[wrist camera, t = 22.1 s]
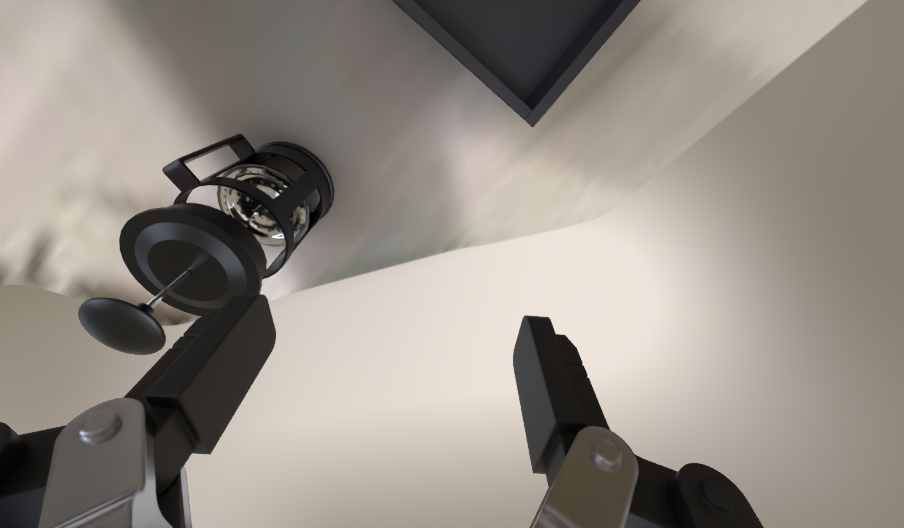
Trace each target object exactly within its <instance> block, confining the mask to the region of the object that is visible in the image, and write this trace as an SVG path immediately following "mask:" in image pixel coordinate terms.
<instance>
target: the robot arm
mask: <svg viewBox="0 0 904 528" xmlns="http://www.w3.org/2000/svg"><path fill="white" fill-rule="evenodd" d="M275 340H276V331H275V326H274V323H273V319H272V315H271V311H270V308H269V304H268V300H267V298H266V296H265V295H261V294H248V293H235V294H234V295H233V296H232V297H231V298H230V299H229V300H228V301H227V302H226V303H225V304H224V306H223V307H222V308H221V309H218V308H215V309H213V310H212V311H210V312H209V313H207V314H205V315H204V316H202V317H200V318H199V319H197V320H196V321H195V322H194V323H193V325H191V326H190V328H189V329H188V330H187V331H186V332H185V333H184V336H183V337H180V338H179V339H178V341H176V342H175V344H174V345H173V347H172V349H169V350H168V351H167V352H166V353H165V354H164V355H163V356H162V357H161V358H160V359H159V361H158V362H157V363H156V364H155V365H154V366H153V367H152V368H151V369H150V370H149V371H148V372H147V373H146V374H145V375H144V377H142V379H141V380H140V381H139V382H138V383H137V384H136V385H135V386H134V387H133V388H132V389H131V390H130V391H129V392H128V393H127V394H126V396H124V397H123V398H117V399H114V400H109V401H106V402H103V403H101V404H98V405H96V406H94V407H92V408H90V409H88V410H86V411H85V412H83V413H81V414H80V415H79V416H77V417H76V418H74V419H73V420H72V421H71V422H70V423H68V425H66V426H62V427H56V428H51V429H46V430H42V431H37V432H32V433H27V434H22V435H18V434H17V433H16V432H15V431H13V430H12V429H11V428H10V427H9V426H8V425H6V424H5V423H2V422H0V528H192V524H191V514H190V504H189V495H188V485H187V476H186V470H185V468H184V465H185V462H186V461H187V460H188V458H189V456H190V455H191V454H192V453H198V454H211V452H212V451H213V449H214V447H215V446H216V444H217V442H218V441H219V439H220V437H221V435H222V434H223V432H224V430H225V429H226V427H227V425H228V424H229V422H230V420H231V419H232V417H233V415H234V414H235V412H236V410H237V409H238V407H239V405H240V404H241V402H242V400H243V399H244V397H245V395H246V394H247V392H248V390H249V388H250V387H251V385H252V384H253V382H254V380H255V378H256V377H257V375H258V373H259V371H260V370H261V369H262V367H263V365H264V364H265V362H266V360H267V358H268V357H269V355H270V353H271V352H272V350H273V348H274V345H275ZM513 367H514V373H515V378H516V383H517V389H518V394H519V400H520V405H521V410H522V416H523V421H524V427H525V432H526V438H527V443H528V448H529V454H530V459H531V465H532V470H533V473H540V474H546V477H547V481H548V486H549V488H548V490H547V492H546V494H545V496H544V498H543V500H542V502H541V504H540V507H539V509H538V511H537V513H536V515H535V517H534V519H533V521H532V524H531V526H530V528H764V527H763V526H762V524H761V522H760V521H759V519H758V517H757V516H756V514H755V512H754V511H753V509H752V507H751V506H750V504H749V503H748V501H747V499H746V498H745V496H744V495H743V493H742V492H741V491H740V490H739V489H738V488H737V486H736V485H735V484H734V483H733V482H731V481H730V480H729V479H728V478H727V477H726V476H724V475H723V474H721V473H720V472H718V471H717V470H715V469H713V468H711V467H709V466H706V465H703V464H699V463H690V464H686V465H684V466H683V467H682V468H681V469H680V470H679V471H678V472H677V471H674V470H672V469H669V468H666V467H664V466H661V465H658V464H656V463H653V462H650V461H648V460H645V459H643V458H641V457H639V456H637V455H635V454H634V453H633V452H632V450H631V448H630V447H629V446H628V445H627V443H626V442H625V441H624V440H623V439H622V438H620V437H619V436H618V435H616V434H615V433H614V432H612V431H611V430H610V428H609V426H608V424H607V422H606V419H605V417H604V414H603V412H602V409H601V407H600V405H599V402H598V400H597V397H596V395H595V392H594V390H593V387H592V385H591V382H590V380H589V378H587V373H586V370H585V368H584V366H583V365H582V360H581V358H580V355H579V353H578V350H577V348H576V347H575V346H574V345H573V344H572V342H571V341H570V340H569V339H568V338H567V337H566V336H565V335H557V334H555V331H554V328H553V325H552V322H551V320H550V318H549V317H538V316H524V317H523V320H522V323H521V326H520V330H519V334H518V338H517V341H516V344H515V348H514V354H513Z"/></svg>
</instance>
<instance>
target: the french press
mask: <svg viewBox="0 0 904 528" xmlns="http://www.w3.org/2000/svg"><path fill="white" fill-rule="evenodd" d="M227 145H229V146H230V147H231V148H232V149H233V151H234V152H235V153H236V154H237V156H238V157H239V158H240V159H241V160H239V161H237V162H235V163H233V164H231V165H229V166H228V167H226V168H224V169H222V170H220V171H218V172H216V173H214V174H212V175H211V176H209V177H207V178H205V179H203V180H201V181H199V179H198V178H197V177H196V176H195V175H194V174H193V173H192V172H191V170H190V169H189V168H188V167H187V166H186V165H185V163H188V162H190V161H192V160H195V159H197V158H199V157H201V156H204V155H206V154H208V153H211V152H213V151H215V150H218V149H220V148H222V147H225V146H227ZM272 156H282V157H284V158H286V159H289V160H291V161H292V162H294V163H296V164H297V165H299V166H300V167H301V168H302V169H303V170H304V171H306V173H304V174H303V175H302V176H301V177H300V178H298V179H297V180H296V181H295V182H294V181H293V180H292V179H290V178H289V177H288V176H286V175H285V174H283V173H281V172H279V171H277V170H275V169H273V168H270V167H267V166H263V165H261V164H262V163H263V162H264V161H265V160H266V159H268V158H270V157H272ZM235 166H236V167H235ZM233 167H234V168H233ZM229 169H230V170H229ZM228 170H229V171H228ZM226 171H227V172H226ZM163 172H164V174H165V175H166V176H167V177H168V178H169V179H170V180H171V181H172V182H173V183H174V184H175V185H176V186H177V188H178V189H179V190H180V191H181V193H180V194H179V195H178V197H177V198H176V199H175V201H174V204H173V205H171V206H169V207H166V208H155V209H149V210H146V211H144V212H141V213H139V214H137V215H135V216H134V217H132V218H131V219H130V220H129V221H127V222H126V224H125V225H124V227H123V229H122V230H121V234H120V239H119V243H120V251H121V254H122V258H123V261H124V262H125V264H126V266H127V268H128V269H129V271H130V273H131V274H132V275H133V276H134V277H135V279H136V280H137V281H138V282H139V283H140V284H141V285H142V286H143V287H144V288H145V289H146V290H147V291H149V292H150V293H151V294H153V295H154V296H155V297H154V298H153V299H152V300H150V301H149V302H148V303H147V304H144V303H140V304H138V305H136V306H135V305H133V304H130V303H128V302H125V301H122V300H119V299H113V298H102V297H101V298H93V299H90V300H87V301H85V302H84V303H83V304H82V305H81V307H80V308H79V313H78V315H79V320H80V322H81V324H82V325H83V327H84V328H85V329H86V331H87V332H88V333H89V334H90V335H91V336H93V337H94V338H95V339H97V340H98V341H99V342H101V343H103V344H104V345H106V346H108V347H111V348H113V349H115V350H118V351H121V352H125V353H129V354H135V355H147V354H152V353H155V352H157V351H159V350H161V349H162V348H163V346H164V344H165V342H166V336H165V333H164V330H163V328H162V327H161V325H160V324H159V323H158V322H157V320H156V319H154V318H153V317H152V316H151V315H152V314H153V313H154V310H153V307H154V306H155V305H156V304H157V303H158V302H159V301H163V302H165V303H167V304H168V305H170V306H172V307H174V308H177V309H179V310H181V311H184V312H187V313H190V314H194V315H198V316H204V315H205V314H207V313H209V312H210V311H212V310H213V309H215V308H218V309H221V308H222V307H223V306H224V304H225V303H226V302H227V301H228V300H229V299H230V298H231V297H232V296H233V295H234V294H235V293H248V294H260V291H261V286H262V282H261V281H262V279H264V278H268V277H270V276H272V275H274V274H275V273H277V272H278V271H279V270H280V269H281V268H282V267H283V266H284V264H285V263H286V262H287V260H288V259H289V257H290V256H291V254H292V252H293V251H294V250H295V249H296V247H297V246H298V245H299V244H300V242H301V241H302V240H303V238H304V237H305V236H306V235H307V233H308V232H309V231H310V230H311V228H312V227H313V226H314V225H315V224H316V223H317V222H318V221H319V220H320V219H321V218H323V217H324V216H325V215H326V214H327V213H328V211H329V209H330V208H331V206H332V203H333V199H334V188H333V182H332V180H331V177H330V174H329V173H328V171H327V169H326V167H325V166H324V165H323V164H322V162H321V161H320V160H319V159H318V158H317V157H316V156H315V155H314V154H312V153H311V152H309V151H308V150H306V149H305V148H303V147H300V146H298V145H296V144H292V143H288V142H271V143H267V144H265V145H262V146H260V147H259V148H257V149H256V150H254V149H253V147H252V146H251V145H250V143H249V142H248V141H247V139H246V138H245V137H244V136H243V135H242V134H237V135H235V136H232V137H230V138H227V139H225V140H222V141H220V142H217V143H215V144H212V145H210V146H207V147H205V148H202V149H200V150H198V151H195V152H193V153H190V154H188V155H185V156H183V157H180V158H178V159H177V160H175V161H173V162H171V163H170V164H168V165H166V166H165V167H164V168H163ZM224 172H226V173H225V174H224V175H223V176H222V177H217V176H218V175H220V174H222V173H224ZM205 185H217V186H218V190H217V197H218V203H219V206H220V209H221V210H218V209H215V208H213V207H210V206H206V205H202V204H197V203H186V201H187V198H188V196H189V194H190V193H191V191H192V190H193V189H195V188H196V187H198V186H205ZM316 188H317V189H318V192H319V194H320V202H319V204H318V206H317V207H316V208H315V209H314V210H312V211H311V212H309V207H308V203H307V200H306V199H307V198H308V197H309V195H310V194H311V193H312V192H313V191H314V190H315V189H316ZM260 244H263V245H267V246H278V247H279V246H286V247H285V249H284V250H283V251H282V252H281V253H280V255H279V256H278V257H277V258H276V259H275V261H274V262H273V263H272V264H271V265H270V266H269V268H268V269H267V270H266V264H267V260H266V257H265V253H264V251H263V249H262V247H261V245H260Z"/></svg>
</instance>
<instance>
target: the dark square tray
mask: <svg viewBox="0 0 904 528" xmlns="http://www.w3.org/2000/svg"><path fill="white" fill-rule="evenodd" d="M392 1H393V2H394V3H396V4H397V5H398V6H399V7H400V8H401V9H402V10H403V11H404V12H406V13H407V14H408V15H409V16H410V17H411V18H412V19H413V20H414V21H415V22H417V23H418V24H419V25H420V26H421V27H422V28H423V29H424V30H425V31H427V32H428V33H429V34H430V35H431V36H432V37H433V38H434V39H435V40H437V41H438V42H439V43H440V44H441V45H442V46H443V47H444V48H445V49H447V50H448V51H449V52H450V53H451V54H452V55H453V56H454V57H455V58H456V59H458V60H459V61H460V62H461V63H462V64H463V65H464V66H465V67H466V68H468V69H469V70H470V71H471V72H472V73H473V74H474V75H475V76H476V77H478V78H479V79H480V80H481V81H482V82H483V83H484V84H485V85H486V86H487V87H489V88H490V89H491V90H492V91H493V92H494V93H495V94H496V95H497V96H499V97H500V98H501V99H502V100H503V101H504V102H505V103H506V104H507V105H509V106H510V107H511V108H512V109H513V110H514V111H515V112H516V113H517V114H519V115H520V116H521V117H522V118H523V119H524V120H525V121H526V122H527V123H528V124H530V125H531V126H532V127H534V126H535V124H536V123H537V122H538V121H539V120H540V119H541V117H542V116H543V115H544V114H545V113H546V111H547V110H548V109H549V108H550V107H551V106H552V104H553V103H554V102H555V101H556V100H557V98H558V97H559V96H560V95H561V94H562V93H563V91H564V90H565V89H566V88H567V87H568V85H569V84H570V83H571V82H572V81H573V80H574V78H575V77H576V76H577V75H578V74H579V72H580V71H581V70H582V69H583V68H584V67H585V65H586V64H587V63H588V62H589V61H590V60H591V58H592V57H593V56H594V55H595V54H596V52H597V51H598V50H599V49H600V48H601V47H602V45H603V44H604V43H605V42H606V41H607V39H608V38H609V37H610V36H611V35H612V34H613V32H614V31H615V30H616V29H617V28H618V26H619V25H620V24H621V23H622V22H623V21H624V19H625V18H626V17H627V16H628V15H629V13H630V12H631V11H632V10H633V9H634V8H635V6H636V5H637V4H638V3H639V2H640V1H641V0H392Z"/></svg>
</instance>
